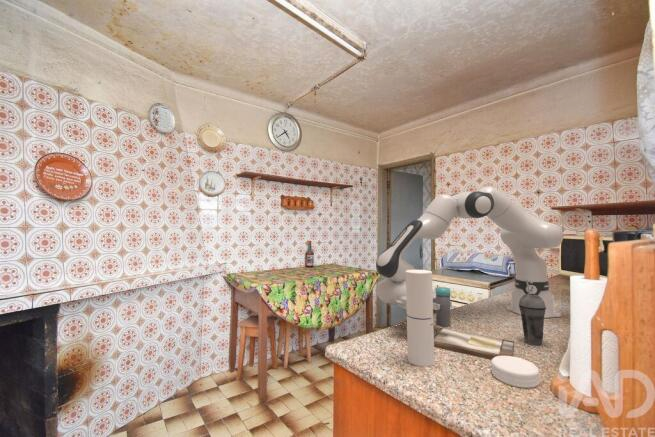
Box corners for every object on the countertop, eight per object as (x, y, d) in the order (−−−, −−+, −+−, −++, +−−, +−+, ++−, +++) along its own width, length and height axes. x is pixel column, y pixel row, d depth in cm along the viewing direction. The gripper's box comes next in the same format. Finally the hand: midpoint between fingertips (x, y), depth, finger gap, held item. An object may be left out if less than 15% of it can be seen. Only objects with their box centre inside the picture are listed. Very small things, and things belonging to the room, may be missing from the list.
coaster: (524, 393, 64) (524, 377, 64) (483, 373, 73) (482, 360, 73) (548, 382, 69) (547, 367, 69) (506, 364, 77) (505, 351, 78)
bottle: (438, 321, 98) (437, 286, 98) (452, 324, 95) (451, 288, 96) (434, 325, 94) (433, 288, 95) (449, 328, 91) (448, 290, 92)
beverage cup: (552, 348, 87) (550, 282, 88) (526, 346, 89) (523, 281, 89) (540, 338, 94) (537, 278, 95) (515, 337, 96) (513, 277, 96)
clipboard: (441, 331, 102) (440, 325, 102) (514, 345, 90) (513, 338, 90) (429, 345, 90) (428, 338, 90) (511, 363, 77) (511, 355, 78)
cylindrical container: (402, 357, 82) (400, 270, 83) (422, 353, 85) (419, 269, 86) (419, 368, 76) (417, 274, 76) (440, 363, 78) (437, 272, 79)
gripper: (392, 292, 100) (425, 300, 88) (428, 285, 111) (462, 292, 100) (392, 310, 100) (426, 321, 88) (428, 302, 111) (462, 310, 100)
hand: (445, 305), depth 94 cm, fingers closed on bottle, 4 cm apart
